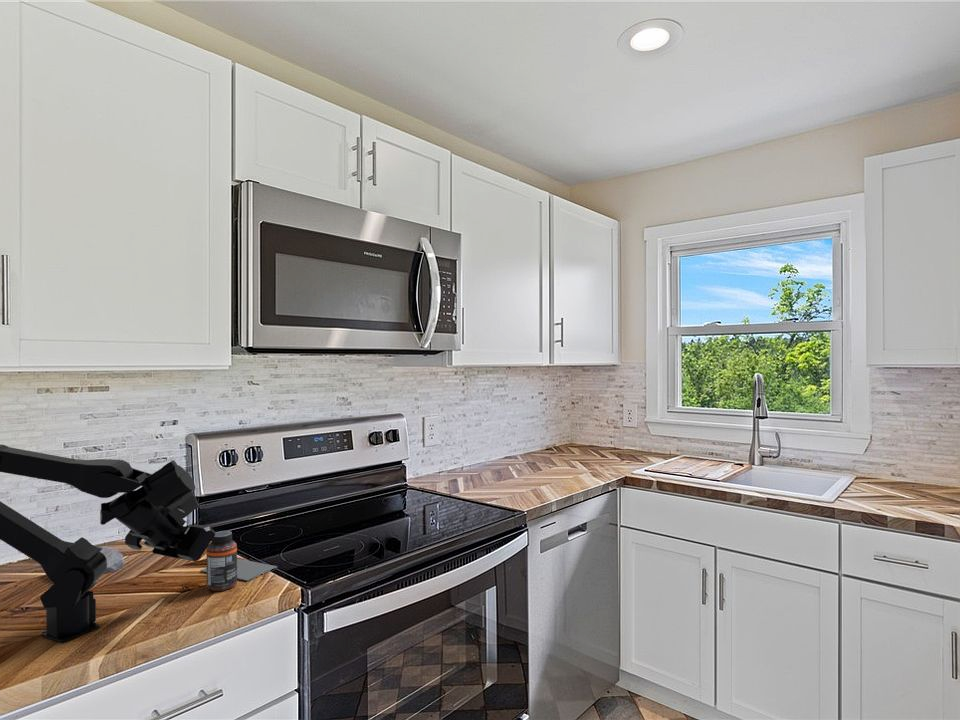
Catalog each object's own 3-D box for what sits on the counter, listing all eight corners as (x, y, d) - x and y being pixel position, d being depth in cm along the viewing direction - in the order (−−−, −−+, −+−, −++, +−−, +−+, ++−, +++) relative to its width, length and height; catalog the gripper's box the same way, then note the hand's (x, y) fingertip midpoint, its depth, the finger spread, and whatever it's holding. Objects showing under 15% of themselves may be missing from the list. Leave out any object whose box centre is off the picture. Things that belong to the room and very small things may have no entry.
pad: (247, 581, 127) (247, 580, 127) (200, 572, 133) (200, 570, 133) (277, 568, 136) (277, 566, 136) (232, 559, 141) (232, 557, 141)
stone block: (129, 575, 136) (106, 558, 141) (130, 555, 136) (107, 540, 141) (72, 595, 126) (49, 576, 131) (73, 574, 126) (50, 556, 130)
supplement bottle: (217, 580, 128) (217, 528, 128) (242, 581, 127) (242, 529, 127) (200, 591, 122) (200, 536, 122) (227, 593, 122) (227, 538, 121)
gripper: (206, 485, 110) (252, 528, 120) (138, 476, 117) (187, 517, 128) (169, 539, 103) (220, 580, 113) (99, 526, 110) (153, 565, 121)
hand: (195, 558), depth 119 cm, fingers closed
